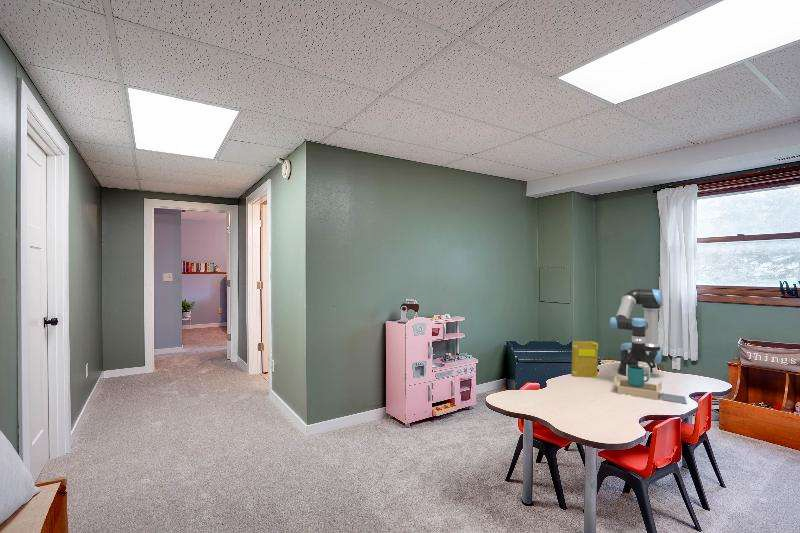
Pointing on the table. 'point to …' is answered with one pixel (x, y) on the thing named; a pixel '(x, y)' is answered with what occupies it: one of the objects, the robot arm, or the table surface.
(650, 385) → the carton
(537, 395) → the table surface
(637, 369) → the cup
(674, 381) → the table surface
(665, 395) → the mat
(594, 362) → the book
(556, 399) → the table surface
